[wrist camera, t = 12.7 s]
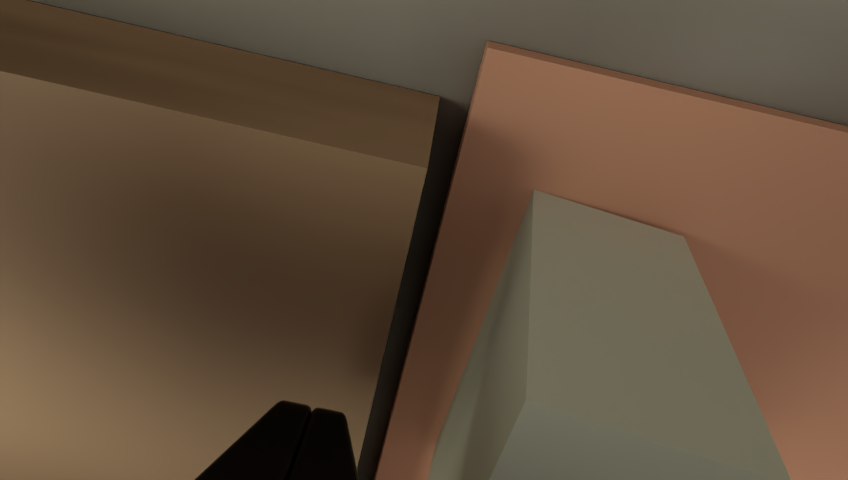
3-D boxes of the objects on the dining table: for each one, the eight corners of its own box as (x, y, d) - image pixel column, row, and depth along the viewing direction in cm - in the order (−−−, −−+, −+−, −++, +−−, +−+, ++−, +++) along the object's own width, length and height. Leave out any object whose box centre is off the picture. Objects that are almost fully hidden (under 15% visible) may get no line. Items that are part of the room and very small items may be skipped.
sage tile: (435, 444, 13) (551, 481, 13) (379, 714, 9) (554, 773, 8) (533, 188, 10) (683, 236, 10) (525, 400, 6) (794, 486, 6)
